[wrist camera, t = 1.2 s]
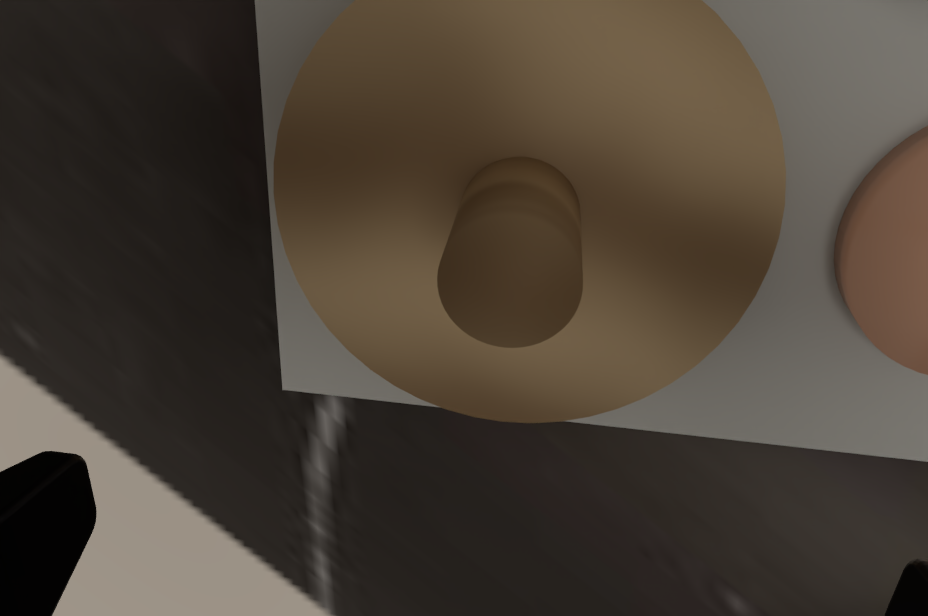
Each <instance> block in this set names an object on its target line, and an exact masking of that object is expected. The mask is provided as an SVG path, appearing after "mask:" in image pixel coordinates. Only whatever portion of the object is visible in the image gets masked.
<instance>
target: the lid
mask: <svg viewBox="0 0 928 616" xmlns="http://www.w3.org/2000/svg"><path fill="white" fill-rule="evenodd" d="M785 189H786V166H785V158H784V149H783V140H782V135H781V131H780V127H779V124H778V120H777V116H776V112H775V108H774V105H773V102H772V100H771V98H770V95H769V93H768V91H767V88H766V86H765V84H764V81H763V79H762V77H761V74H760V72H759V70H758V69H757V67H756V66H755V64H754V62H753V61H752V59H751V58H750V56H749V54H748V53H747V51H746V49H745V48H744V46H743V45H742V43H741V41H740V40H739V39H738V38H737V37H736V35H735V34H734V33H733V32H732V31H731V30H730V28H729V27H728V26H727V25H726V24H725V23H724V21H723V20H722V19H721V18H720V17H719V15H718V14H717V13H716V12H715V11H714V10H712V9H711V8H710V7H709V6H708V5H707V4H706V3H704V2H703V1H702V0H355V1H354V2H353V3H352V4H350V5H349V6H348V7H347V8H346V9H345V10H344V11H343V12H342V13H340V14H339V16H338V17H337V18H336V19H335V20H334V22H333V23H332V24H331V25H330V26H329V28H328V29H327V30H326V31H325V32H324V34H323V35H322V36H321V37H320V38H319V40H318V41H317V42H316V44H315V46H314V47H313V49H312V51H311V52H310V54H309V55H308V57H307V59H306V60H305V62H304V64H303V65H302V67H301V68H300V70H299V72H298V75H297V77H296V79H295V82H294V84H293V86H292V89H291V91H290V93H289V95H288V98H287V100H286V103H285V107H284V111H283V114H282V118H281V121H280V125H279V129H278V133H277V141H276V148H275V156H274V200H275V208H276V215H277V223H278V227H279V231H280V234H281V238H282V242H283V246H284V249H285V253H286V255H287V258H288V260H289V263H290V265H291V268H292V270H293V272H294V275H295V277H296V280H297V282H298V283H299V285H300V287H301V289H302V291H303V292H304V294H305V296H306V298H307V299H308V301H309V303H310V305H311V306H312V308H313V309H314V311H315V312H316V313H317V315H318V316H319V317H320V319H321V320H322V321H323V323H324V324H325V326H326V327H327V328H328V330H329V331H330V332H331V333H332V334H333V335H334V336H335V337H336V338H337V339H338V340H339V341H340V342H341V344H342V345H343V346H344V347H345V348H346V349H347V350H348V351H349V352H350V353H351V354H353V355H354V356H355V357H356V358H357V359H358V360H360V361H361V362H362V363H363V364H364V365H366V366H367V367H368V368H369V369H370V370H372V371H373V372H375V373H376V374H378V375H379V376H381V377H382V378H384V379H385V380H386V381H388V382H389V383H391V384H392V385H394V386H396V387H398V388H400V389H401V390H403V391H405V392H407V393H409V394H411V395H413V396H415V397H417V398H419V399H421V400H423V401H426V402H428V403H431V404H434V405H436V406H439V407H441V408H444V409H446V410H450V411H454V412H457V413H461V414H465V415H468V416H472V417H477V418H483V419H489V420H495V421H501V422H518V423H544V422H561V421H567V420H573V419H579V418H585V417H590V416H594V415H598V414H601V413H605V412H608V411H612V410H615V409H619V408H621V407H623V406H626V405H628V404H631V403H633V402H636V401H638V400H641V399H643V398H645V397H647V396H649V395H651V394H653V393H655V392H657V391H658V390H660V389H662V388H664V387H666V386H668V385H669V384H671V383H673V382H674V381H675V380H677V379H678V378H680V377H681V376H682V375H684V374H685V373H687V372H688V371H690V370H691V369H692V368H694V367H695V366H696V365H697V364H699V363H700V362H701V361H702V360H703V359H704V358H705V357H706V356H707V355H709V354H710V353H711V352H712V351H713V350H714V349H715V348H716V347H717V346H718V345H719V344H720V343H721V342H722V341H723V340H724V338H725V337H726V336H727V335H728V334H729V333H730V331H731V330H732V329H733V328H734V327H735V326H736V324H737V323H738V322H739V321H740V319H741V318H742V316H743V314H744V313H745V311H746V310H747V308H748V307H749V305H750V304H751V302H752V301H753V299H754V298H755V296H756V294H757V292H758V290H759V288H760V286H761V284H762V282H763V280H764V278H765V276H766V274H767V272H768V269H769V267H770V264H771V261H772V258H773V255H774V252H775V249H776V246H777V243H778V240H779V236H780V230H781V225H782V219H783V213H784V208H785Z"/></svg>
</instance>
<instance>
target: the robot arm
mask: <svg viewBox="0 0 928 616" xmlns="http://www.w3.org/2000/svg"><path fill="white" fill-rule="evenodd" d="M95 522H96V505H95V501H94V497H93V492H92V487H91V482H90V478H89V473H88V469H87V465H86V462H85V461H84V459H83V458H82V457H81V456H79V455H77V454H71V453H63V452H54V451H45V452H42V453H39V454H37V455H35V456H33V457H31V458H29V459H26V460H24V461H22V462H20V463H18V464H16V465H14V466H12V467H10V468H8V469H6V470H4V471H1V472H0V616H52V614H53V612H54V610H55V608H56V606H57V604H58V602H59V600H60V598H61V596H62V594H63V592H64V590H65V588H66V585H67V583H68V581H69V579H70V577H71V575H72V573H73V571H74V569H75V567H76V565H77V563H78V561H79V559H80V557H81V555H82V552H83V550H84V548H85V546H86V544H87V542H88V540H89V538H90V536H91V534H92V531H93V529H94V526H95ZM885 616H928V560H922V559H916V560H912V561H910V562H909V563H908V564H907V565H906V567H905V569H904V570H903V573H902V575H901V577H900V580H899V582H898V584H897V587H896V589H895V591H894V594H893V596H892V598H891V601H890V603H889V605H888V608H887V610H886V613H885Z"/></svg>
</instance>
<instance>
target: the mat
mask: <svg viewBox="0 0 928 616" xmlns="http://www.w3.org/2000/svg"><path fill="white" fill-rule="evenodd" d="M354 1H355V0H255V11H256V25H257V39H258V53H259V67H260V81H261V95H262V109H263V124H264V138H265V152H266V166H267V180H268V194H269V208H270V222H271V236H272V250H273V264H274V278H275V292H276V306H277V320H278V334H279V348H280V362H281V376H282V390H290V391H298V392H307V393H316V394H325V395H334V396H343V397H352V398H361V399H370V400H379V401H388V402H397V403H406V404H415V405H424V406H433V407H439V406H436V405H434V404H431V403H428V402H426V401H423V400H421V399H419V398H417V397H415V396H413V395H411V394H409V393H407V392H405V391H403V390H401V389H400V388H398V387H396V386H394V385H392V384H391V383H389V382H388V381H386V380H385V379H384V378H382V377H381V376H379V375H378V374H376V373H375V372H373V371H372V370H370V369H369V368H368V367H367V366H366V365H364V364H363V363H362V362H361V361H360V360H358V359H357V358H356V357H355V356H354V355H353V354H351V353H350V352H349V351H348V350H347V349H346V348H345V347H344V346H343V345H342V344H341V342H340V341H339V340H338V339H337V338H336V337H335V336H334V335H333V334H332V333H331V332H330V331H329V330H328V328H327V327H326V326H325V324H324V323H323V321H322V320H321V319H320V317H319V316H318V315H317V313H316V312H315V311H314V309H313V308H312V306H311V305H310V303H309V301H308V299H307V298H306V296H305V294H304V292H303V291H302V289H301V287H300V285H299V283H298V282H297V280H296V277H295V275H294V272H293V270H292V268H291V265H290V263H289V260H288V258H287V255H286V253H285V249H284V246H283V242H282V238H281V234H280V231H279V227H278V223H277V215H276V208H275V200H274V156H275V148H276V141H277V133H278V129H279V125H280V121H281V118H282V114H283V111H284V107H285V103H286V100H287V98H288V95H289V93H290V91H291V89H292V86H293V84H294V82H295V79H296V77H297V75H298V72H299V70H300V68H301V67H302V65H303V64H304V62H305V60H306V59H307V57H308V55H309V54H310V52H311V51H312V49H313V47H314V46H315V44H316V42H317V41H318V40H319V38H320V37H321V36H322V35H323V34H324V32H325V31H326V30H327V29H328V28H329V26H330V25H331V24H332V23H333V22H334V20H335V19H336V18H337V17H338V16H339V14H340V13H342V12H343V11H344V10H345V9H346V8H347V7H348V6H349V5H350V4H352V3H353V2H354ZM702 1H703V2H704V3H706V4H707V5H708V6H709V7H710V8H711V9H712V10H714V11H715V12H716V13H717V14H718V15H719V17H720V18H721V19H722V20H723V21H724V23H725V24H726V25H727V26H728V27H729V28H730V30H731V31H732V32H733V33H734V34H735V35H736V37H737V38H738V39H739V40H740V41H741V43H742V45H743V46H744V48H745V49H746V51H747V53H748V54H749V56H750V58H751V59H752V61H753V62H754V64H755V66H756V67H757V69H758V70H759V72H760V74H761V77H762V79H763V81H764V84H765V86H766V88H767V91H768V93H769V95H770V98H771V100H772V102H773V105H774V108H775V112H776V116H777V120H778V124H779V127H780V131H781V135H782V140H783V149H784V158H785V166H786V189H785V208H784V213H783V219H782V225H781V230H780V236H779V240H778V243H777V246H776V249H775V252H774V255H773V258H772V261H771V264H770V267H769V269H768V272H767V274H766V276H765V278H764V280H763V282H762V284H761V286H760V288H759V290H758V292H757V294H756V296H755V298H754V299H753V301H752V302H751V304H750V305H749V307H748V308H747V310H746V311H745V313H744V314H743V316H742V318H741V319H740V321H739V322H738V323H737V324H736V326H735V327H734V328H733V329H732V330H731V331H730V333H729V334H728V335H727V336H726V337H725V338H724V340H723V341H722V342H721V343H720V344H719V345H718V346H717V347H716V348H715V349H714V350H713V351H712V352H711V353H710V354H709V355H707V356H706V357H705V358H704V359H703V360H702V361H701V362H700V363H699V364H697V365H696V366H695V367H694V368H692V369H691V370H690V371H688V372H687V373H685V374H684V375H682V376H681V377H680V378H678V379H677V380H675V381H674V382H673V383H671V384H669V385H668V386H666V387H664V388H662V389H660V390H658V391H657V392H655V393H653V394H651V395H649V396H647V397H645V398H643V399H641V400H638V401H636V402H633V403H631V404H628V405H626V406H623V407H621V408H619V409H615V410H612V411H608V412H605V413H601V414H598V415H594V416H590V417H585V418H579V419H573V420H567V422H576V423H585V424H594V425H603V426H612V427H621V428H630V429H639V430H648V431H657V432H666V433H675V434H684V435H693V436H702V437H711V438H720V439H729V440H738V441H747V442H756V443H765V444H773V445H782V446H791V447H800V448H809V449H818V450H827V451H836V452H845V453H854V454H863V455H872V456H881V457H890V458H899V459H908V460H917V461H926V462H928V375H926V374H922V373H919V372H916V371H914V370H911V369H909V368H907V367H904V366H902V365H900V364H899V363H897V362H895V361H894V360H892V359H890V358H889V357H887V356H886V355H885V354H884V353H883V352H881V351H880V350H879V349H878V348H876V346H875V345H874V344H873V343H872V342H871V341H870V340H869V339H868V338H867V336H866V335H865V334H864V332H863V331H862V329H861V328H860V326H859V325H858V323H857V322H856V320H855V319H854V317H853V316H852V314H851V312H850V311H849V309H848V308H847V306H846V305H845V303H844V301H843V299H842V296H841V294H840V292H839V289H838V285H837V281H836V277H835V270H834V248H835V240H836V236H837V231H838V227H839V224H840V221H841V219H842V216H843V213H844V211H845V209H846V207H847V205H848V203H849V201H850V199H851V197H852V195H853V193H854V192H855V191H856V189H857V188H858V186H859V185H860V183H861V182H862V180H863V179H864V178H865V177H866V175H867V174H868V173H869V172H870V171H871V170H872V169H873V167H874V166H875V165H876V164H877V163H878V162H879V161H880V160H881V159H882V158H883V157H884V156H885V155H887V154H888V153H889V152H890V151H891V150H892V149H893V148H894V147H896V146H897V145H898V144H900V143H901V142H903V141H904V140H905V139H907V138H908V137H909V136H911V135H912V134H914V133H916V132H917V131H919V130H921V129H923V128H924V127H926V126H928V0H702Z"/></svg>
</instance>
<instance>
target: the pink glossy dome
mask: <svg viewBox="0 0 928 616" xmlns="http://www.w3.org/2000/svg"><path fill="white" fill-rule="evenodd" d="M834 270H835V277H836V281H837V285H838V289H839V292H840V294H841V296H842V299H843V301H844V303H845V305H846V306H847V308H848V309H849V311H850V312H851V314H852V316H853V317H854V319H855V320H856V322H857V323H858V325H859V326H860V328H861V329H862V331H863V332H864V334H865V335H866V336H867V338H868V339H869V340H870V341H871V342H872V343H873V344H874V345H875V346H876V348H878V349H879V350H880V351H881V352H883V353H884V354H885V355H886V356H887V357H889V358H890V359H892V360H894V361H895V362H897V363H899V364H900V365H902V366H904V367H907V368H909V369H911V370H914V371H916V372H919V373H922V374H926V375H928V126H926V127H924V128H923V129H921V130H919V131H917V132H916V133H914V134H912V135H911V136H909V137H908V138H907V139H905V140H904V141H903V142H901V143H900V144H898V145H897V146H896V147H894V148H893V149H892V150H891V151H890V152H889V153H888V154H887V155H885V156H884V157H883V158H882V159H881V160H880V161H879V162H878V163H877V164H876V165H875V166H874V167H873V169H872V170H871V171H870V172H869V173H868V174H867V175H866V177H865V178H864V179H863V180H862V182H861V183H860V185H859V186H858V188H857V189H856V191H855V192H854V193H853V195H852V197H851V199H850V201H849V203H848V205H847V207H846V209H845V211H844V213H843V216H842V219H841V221H840V224H839V227H838V231H837V236H836V240H835V248H834Z"/></svg>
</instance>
